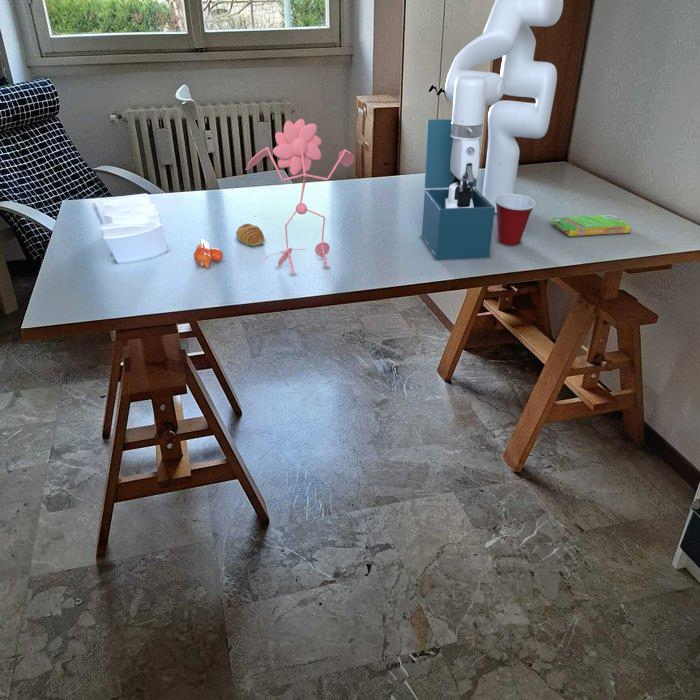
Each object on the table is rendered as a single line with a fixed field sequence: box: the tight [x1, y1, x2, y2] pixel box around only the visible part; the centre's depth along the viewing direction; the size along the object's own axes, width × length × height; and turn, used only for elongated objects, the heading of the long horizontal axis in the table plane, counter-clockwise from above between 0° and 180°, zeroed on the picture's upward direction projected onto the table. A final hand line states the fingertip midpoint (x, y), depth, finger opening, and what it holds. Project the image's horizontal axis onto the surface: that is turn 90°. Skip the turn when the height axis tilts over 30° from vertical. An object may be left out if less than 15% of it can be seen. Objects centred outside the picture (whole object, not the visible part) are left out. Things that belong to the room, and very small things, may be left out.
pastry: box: [235, 223, 265, 247], centre depth 179 cm, size 9×7×4 cm
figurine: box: [245, 118, 355, 275], centre depth 160 cm, size 15×26×35 cm, turn 118°
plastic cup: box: [495, 193, 537, 247], centre depth 178 cm, size 11×11×12 cm
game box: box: [549, 214, 632, 237], centre depth 190 cm, size 3×10×20 cm
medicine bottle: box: [444, 182, 474, 209], centre depth 172 cm, size 7×7×12 cm
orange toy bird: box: [193, 239, 224, 269], centre depth 167 cm, size 5×8×12 cm
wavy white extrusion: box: [91, 193, 168, 264], centre depth 175 cm, size 35×16×11 cm, turn 21°
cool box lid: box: [424, 118, 481, 189], centre depth 177 cm, size 17×14×6 cm
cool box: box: [421, 187, 495, 261], centre depth 175 cm, size 17×14×13 cm
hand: (459, 201), depth 171 cm, fingers closed on medicine bottle, 6 cm apart
